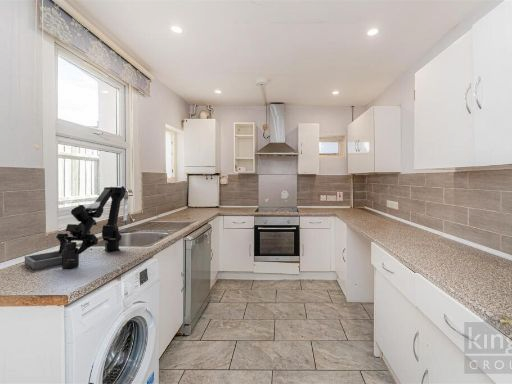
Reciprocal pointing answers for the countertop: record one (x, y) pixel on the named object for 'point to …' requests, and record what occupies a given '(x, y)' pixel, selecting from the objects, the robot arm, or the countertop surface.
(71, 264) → the supplement bottle
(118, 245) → the robot arm
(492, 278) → the countertop surface
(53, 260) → the housing
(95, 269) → the countertop surface
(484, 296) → the countertop surface
